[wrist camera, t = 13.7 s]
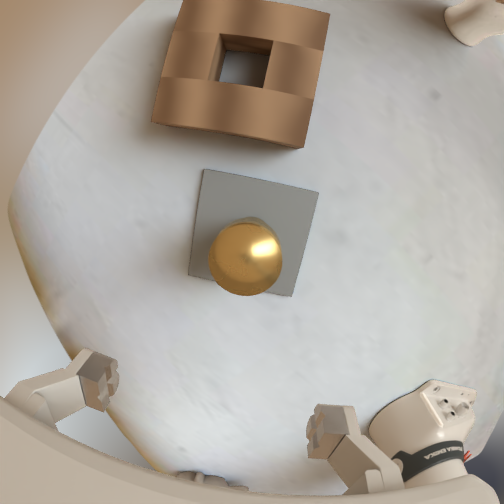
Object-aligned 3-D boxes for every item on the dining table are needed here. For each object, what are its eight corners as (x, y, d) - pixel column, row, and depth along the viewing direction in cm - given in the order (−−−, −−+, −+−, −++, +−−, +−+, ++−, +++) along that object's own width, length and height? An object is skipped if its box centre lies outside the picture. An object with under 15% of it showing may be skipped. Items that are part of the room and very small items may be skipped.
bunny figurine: (172, 477, 44) (246, 496, 42) (180, 459, 49) (251, 477, 47) (176, 493, 47) (242, 510, 45) (182, 477, 52) (246, 493, 50)
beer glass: (458, 52, 23) (534, 22, 9) (431, 6, 21) (494, -41, 7) (488, 47, 22) (559, 24, 8) (464, 4, 20) (525, -32, 6)
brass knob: (285, 214, 31) (290, 234, 23) (272, 267, 33) (273, 302, 25) (228, 202, 31) (214, 218, 23) (218, 256, 33) (203, 287, 25)
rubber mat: (318, 192, 30) (318, 193, 30) (291, 294, 34) (291, 296, 34) (205, 168, 30) (204, 169, 30) (189, 273, 34) (188, 275, 34)
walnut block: (322, 31, 25) (330, 13, 20) (298, 148, 29) (303, 147, 24) (196, 13, 24) (185, -5, 20) (167, 126, 29) (150, 121, 24)
